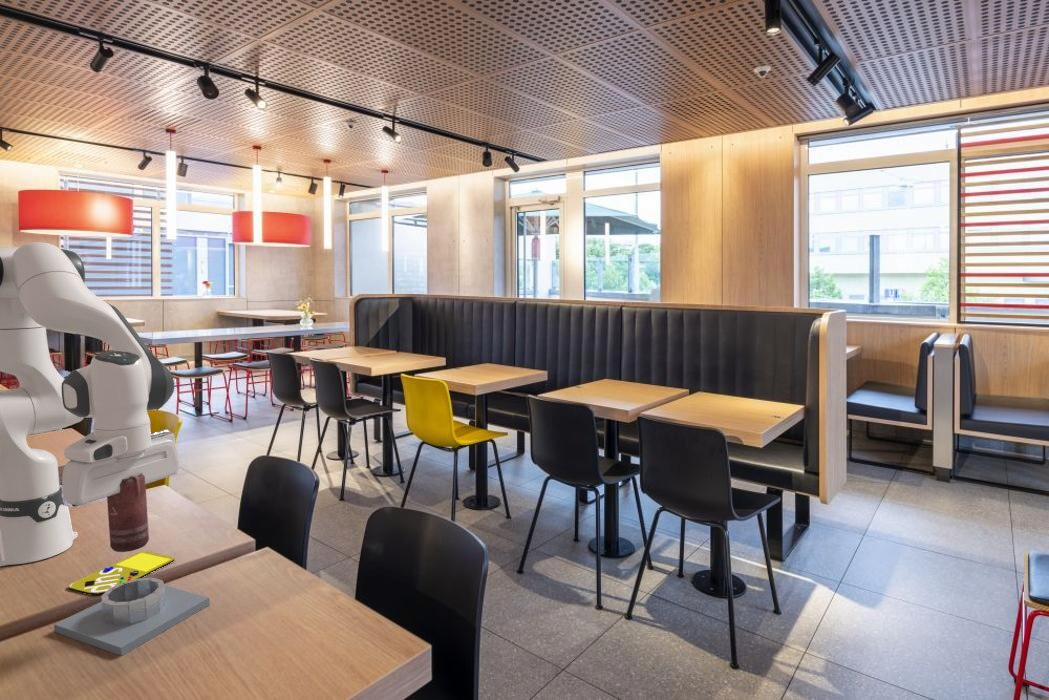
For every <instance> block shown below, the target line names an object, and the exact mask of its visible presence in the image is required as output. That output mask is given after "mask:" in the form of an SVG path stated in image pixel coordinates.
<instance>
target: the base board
mask: <svg viewBox="0 0 1049 700" xmlns="http://www.w3.org/2000/svg"><path fill="white" fill-rule="evenodd" d="M164 585H165V599H166V606H165V607H164V608H163V609H162V611H161V612H160V613H158V614H156V615H155V616H153V617H151V618H149V619H147V620H144V621H141V622H137V623H134V624H130V625H117V626H113V625H110V624H107V623H104V620H103V611H102V600H101V601H100V602H97V603H95V604H93V605H92V606H91V605H90V606H89V607H87V608H84V610H80V611H79V612H77V613H75V614H72V615H71V616H69V617H66V618H64V619H62V620H60V621H59V622H56V623H54V624H53V628H54V629H53V630H54V633H57V634H59V635H62V636H65V637H68V638H70V639H73V640H75V641H79V642H82V643H85V644H88V645H90V646H93V647H95V648H99V649H101V650H104V651H107V652H109V653H113V654H116V655H118V656H121V657H122V656H124V655H126V654H127V653H129V652H131V651H133V650H134V649H136V648H138V647H139V646H141V645H143V644H144V643H146V642H148V641H150V640H152V639H153V638H155V637H157V636H159V635H160V634H162V633H164V632H165V631H167V630H169V629H171V628H172V627H174V626H176V625H177V624H179V623H181V622H182V621H185V620H186V619H188V618H190V617H191V616H193V615H194V614H196V613H198V612H199V611H200V612H201V610H203V609H205V608H207V607H209V606H210V604H211V603H210V597H207V596H204V595H200V594H197V593H193V592H190V591H186V590H183V589H179V588H176V587H173V586H170V585H169V586H168V585H166V584H164Z"/></svg>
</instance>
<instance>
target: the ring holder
mask: <svg viewBox="0 0 1049 700" xmlns="http://www.w3.org/2000/svg"><path fill="white" fill-rule="evenodd" d="M165 585H166V584H165V583H164V580H162V579H159V578H156V577H144V578H139V579H134V580H130V581H126V582H123V583H120V584H118V585H116V586H114V587H112V588H109V589H108V590H107V591H106V592H105V593H104V594H103V595H100V597H101V601H102V611H103V620H104V623H107V624H110V625H113V626H117V625H130V624H134V623H137V622H141V621H144V620H147V619H149V618H151V617H153V616H155V615H156V614H158V613H160V612H161V611H162V609H163V608H164V607H165V606H166V599H165Z"/></svg>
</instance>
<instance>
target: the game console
mask: <svg viewBox="0 0 1049 700" xmlns="http://www.w3.org/2000/svg"><path fill="white" fill-rule="evenodd" d="M173 561H174V562H175V557H174V556H169V555H164V554H159V553H157V552H156V553H155V552H152V551H140V552H136V553H134V554H132V555H129V556H127V557H126V558H123V559H121V560H119V561H116V562H114V563H112V564H110V565H107V566H106V567H103V568H102V569H99V570H97V571H95V572H93V573H91V574H89V575H86V576H85V577H82V578H80V579H78V580H75V581H73V582H72V583H70V584H69V585H68V590H70V591H72V592H75V591H76V593H79V592H80V593H81V594H83V593H86V594H85V595H87V594H91V595H90V596H102V595H103V594H104V593H105V592H106V591H107V590H108V589H109V588H112V587H114V586H116V585H118V584H120V583H123V582H126V581H130V580H134V579H139V578H142V577H144V576H146V575H147V576H149V575H151V574H152V573H151V572H153V571H155V572H157V571H158V570H157V569H159V568H161V569H163V568H165V567H167V566H169V565H171V564H172V563H171V562H173ZM174 562H173V563H174ZM170 563H171V564H170ZM168 564H169V565H168ZM166 565H167V566H166ZM164 566H165V567H164ZM162 567H163V568H162ZM156 570H157V571H156ZM159 570H160V569H159ZM150 573H151V574H150ZM153 573H154V572H153ZM148 574H149V575H148ZM147 576H146V577H147ZM144 578H145V577H144ZM80 593H79V594H80Z"/></svg>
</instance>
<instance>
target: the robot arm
mask: <svg viewBox="0 0 1049 700" xmlns="http://www.w3.org/2000/svg"><path fill="white" fill-rule="evenodd" d="M85 280H86V271H85V266H84V262H83V261H82V258H81V257H80V256H79V255H78V254H77V253H76V252H74V251H72V250H68V249H63V248H60V247H58V246H56V245H54V244H52V243H49V242H43V241H36V242H35V241H33V242H29V243H25V244H23V245H21V246H0V372H2V373H4V374H8V375H11V376H15V377H16V379H17V381H18V384H19V387H17V388H11V389H3V390H0V567H3V566H9V565H10V566H11V565H21V564H28V563H34V562H38V561H43V560H45V559H49V558H51V557H54V556H56V555H59V554H61V553H63V552H65V551H67V550H68V549H70V548H71V547H72V546H73V543H74V540H76V539H77V538H78V536H79V534H78V532H77V531H74V530H73V527H72V521H71V516H70V515H71V514H70V510H69V507H68V506H66V505H65V504H63V503H64V501H66V502H67V503H68V504H71V505H74V506H84V505H87V504H89V503H93V502H95V501H99V500H101V499H102V500H103V499H106V498H107V497H108V496H111V495H114V494H117V493H119V492H120V483H121V481H122V479H127V478H130V476H138V475H140V474H143V475H144V476H145V484H146V485H147V484H151V483H153V482H157V481H159V480H163V479H165V478H170V477H172V476H175V475H177V474H178V473H179V470H180V467H181V465H180V458H179V454H178V452H179V451H178V449H177V446H176V436H175V435H176V434H174V432H172V431H170V430H168V429H162V430H158V431H154V432H151V430H152V429H151V419H150V416H149V413H148V411H154V410H155V411H157V410H160V409H161V408H162V407H164V405H166V403H167V402H169V400H170V399H171V397H172V396H173V394H174V393H175V392H174V391H175V381H174V377H173V375H172V372H171V371H170V370H169V369H168V367H167V365H165V364H164V363H163V362H162V361H161V360H159V359H158V358H157V357H156V355H154V353H153V352H152V351H151V350H150V349H149V347H148V346H147V345H146V343H145V342H144V341H143V339H142V338H141V336H140V335H139V334H138V332H137V331H136V330H135V329H134V328H133V326H132V325H131V323H130V322H129V321H128V320H127V318H126V317H125V316H124V315H123V313H122V312H121V311H120V310H119V309H118V308H117V307H115V306H114V305H112V304H110V303H109V302H106V301H105V300H103V299H101V298H100V297H98V296H97V295H96V294H95V293H94V292H92V291H91V290H90V288H88V287H87V285H86V284H85ZM47 329H48V330H50V331H56V332H61V333H68V334H76V335H80V336H86V337H91V338H94V339H97V340H100V341H102V342H104V343H106V344H107V345H109V346H110V347H111V349H112V350H111V351H103V352H100V353H96V355H94V356H93V357H92V359H91V361H90V364H88V365H86V366H83V367H81V368H77V369H73V370H72V371H71V372H69V373H68V374H67V376H66V377H63V376H62V375H61V374H60V372H59V371H58V370H57V369H56V367H55V365H54V363H53V361H52V359H51V355H50V349H49V344H48V343H49V342H48V336H47ZM84 418H94V419H93V420H94V421H93V427H92V428H93V429H92V430H93V432H91V433H89V434H87V435H86V436H84V437H83V438H81V439H79V440H77V441H76V442H74V443H72V444H70V445H68V446H67V447H66V446H65V448H64V451H63V455H64V458H65V459H67V460H68V461H67V462H66V463H65V465H64V466H63V470H62V478H61V479H62V482H61V483H62V484H61V485H62V487H61V486H60V477H59V474H60V473H59V465H58V464H59V463H58V459H57V458H56V456H55V455H54V454H53V453H52V452H50V451H48V450H45V449H42V448H38V447H33V446H29V444H28V442H27V436H30V435H35V434H40V433H47V432H51V431H56V430H61V429H64V428H67V427H69V426H72V425H75V424H77V423H80V422H81V421H83V420H84Z"/></svg>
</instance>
